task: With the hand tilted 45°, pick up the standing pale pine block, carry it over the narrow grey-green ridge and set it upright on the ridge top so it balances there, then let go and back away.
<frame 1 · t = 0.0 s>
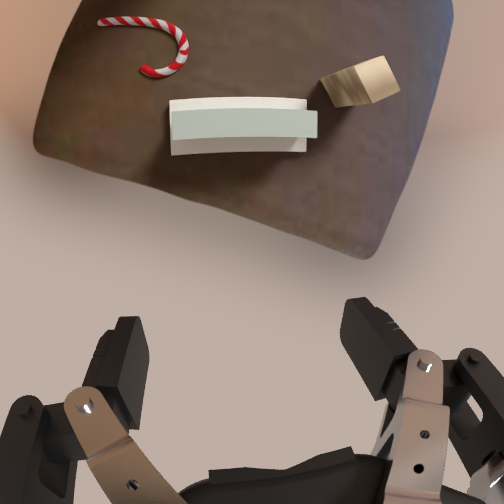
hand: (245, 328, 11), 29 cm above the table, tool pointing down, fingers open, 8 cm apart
pine block: (340, 87, 34), on the table
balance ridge: (238, 124, 35), on the table
candy cane: (139, 41, 28), on the table
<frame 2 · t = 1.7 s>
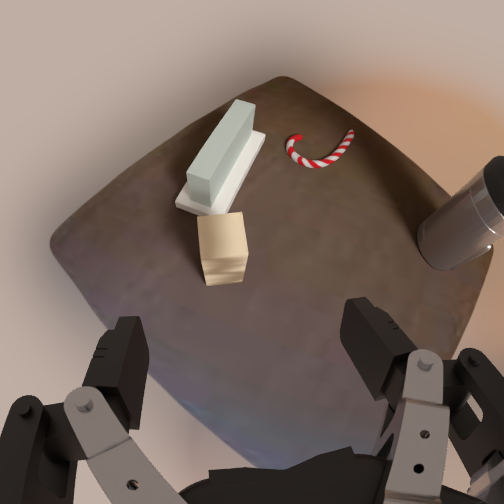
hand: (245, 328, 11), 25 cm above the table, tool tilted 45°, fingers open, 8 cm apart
pine block: (222, 267, 38), on the table
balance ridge: (223, 170, 43), on the table
candy cane: (323, 146, 48), on the table
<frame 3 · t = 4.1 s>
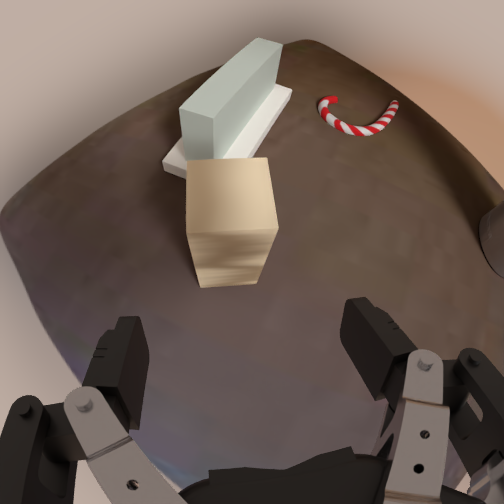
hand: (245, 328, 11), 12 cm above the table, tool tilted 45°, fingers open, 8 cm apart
pine block: (226, 259, 24), on the table
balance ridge: (234, 127, 30), on the table
candy cane: (363, 113, 35), on the table
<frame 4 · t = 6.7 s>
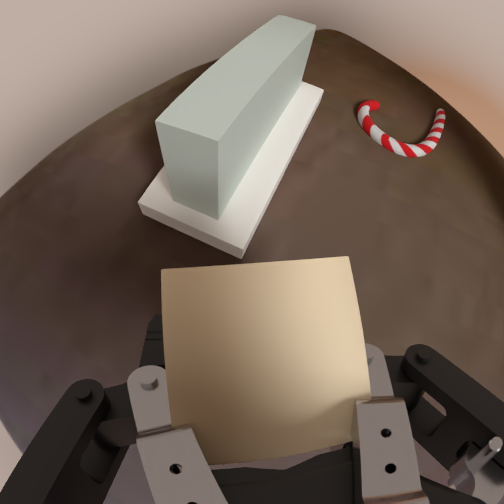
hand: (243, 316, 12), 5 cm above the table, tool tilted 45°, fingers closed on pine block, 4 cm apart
pine block: (241, 363, 15), on the table, touching gripper
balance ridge: (246, 143, 21), on the table
candy cane: (408, 125, 26), on the table
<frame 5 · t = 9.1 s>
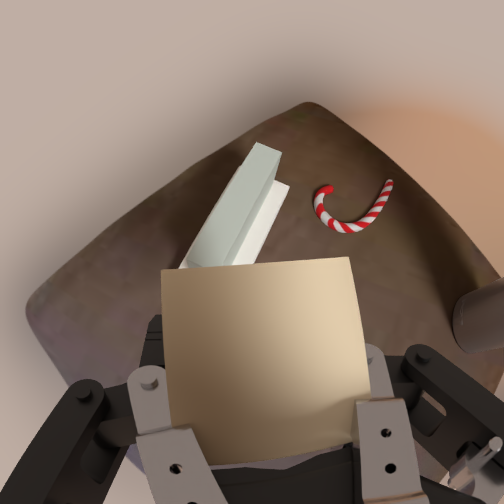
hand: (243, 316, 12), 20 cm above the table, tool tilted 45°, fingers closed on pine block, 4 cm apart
pine block: (241, 363, 15), point 15 cm above the table, touching gripper
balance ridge: (234, 234, 35), on the table
candy cane: (357, 200, 40), on the table
when the fingers open (14 cm above the table, at t = 11.9 s): pine block drops 1 cm, resting on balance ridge.
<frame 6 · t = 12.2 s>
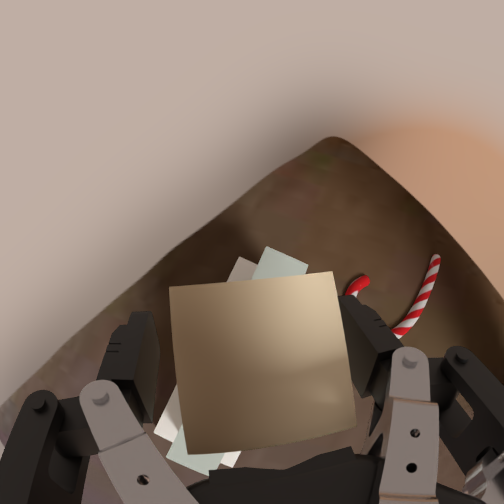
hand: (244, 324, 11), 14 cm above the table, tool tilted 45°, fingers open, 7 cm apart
pine block: (240, 364, 16), point 8 cm above the table, touching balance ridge
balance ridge: (234, 363, 24), on the table
candy cane: (397, 290, 28), on the table
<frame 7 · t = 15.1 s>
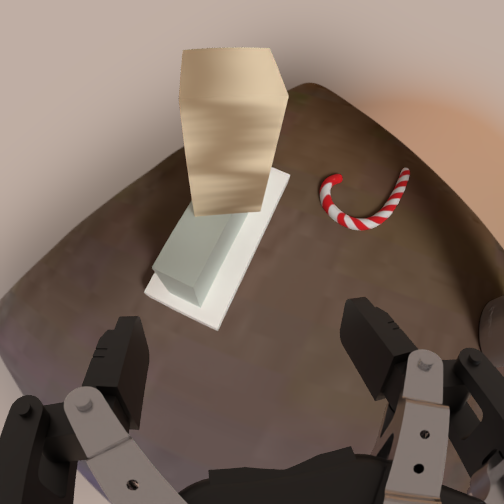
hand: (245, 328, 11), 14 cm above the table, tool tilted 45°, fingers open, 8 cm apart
pine block: (224, 186, 21), point 8 cm above the table, touching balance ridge
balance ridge: (223, 233, 28), on the table
candy cane: (370, 191, 33), on the table
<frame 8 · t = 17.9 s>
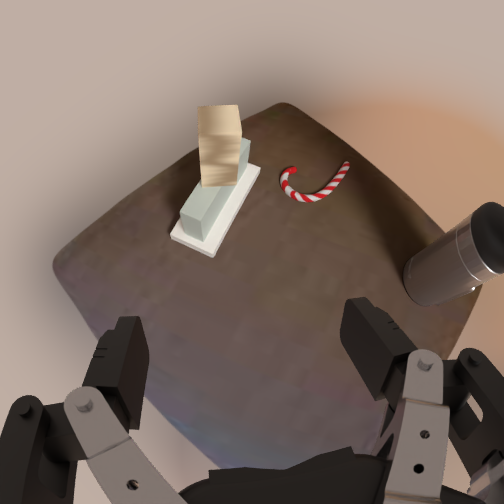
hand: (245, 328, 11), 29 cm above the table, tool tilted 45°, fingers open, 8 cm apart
pine block: (218, 172, 38), point 8 cm above the table, touching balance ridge
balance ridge: (217, 203, 46), on the table
candy cane: (317, 178, 50), on the table
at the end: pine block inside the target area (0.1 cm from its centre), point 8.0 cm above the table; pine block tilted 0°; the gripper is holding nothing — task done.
